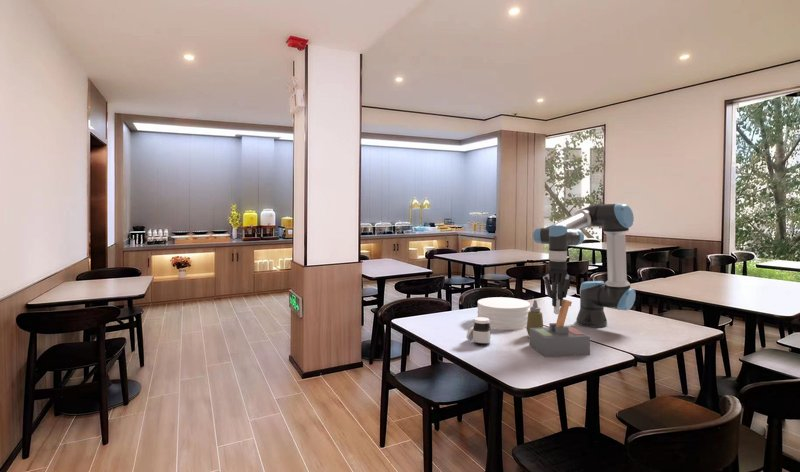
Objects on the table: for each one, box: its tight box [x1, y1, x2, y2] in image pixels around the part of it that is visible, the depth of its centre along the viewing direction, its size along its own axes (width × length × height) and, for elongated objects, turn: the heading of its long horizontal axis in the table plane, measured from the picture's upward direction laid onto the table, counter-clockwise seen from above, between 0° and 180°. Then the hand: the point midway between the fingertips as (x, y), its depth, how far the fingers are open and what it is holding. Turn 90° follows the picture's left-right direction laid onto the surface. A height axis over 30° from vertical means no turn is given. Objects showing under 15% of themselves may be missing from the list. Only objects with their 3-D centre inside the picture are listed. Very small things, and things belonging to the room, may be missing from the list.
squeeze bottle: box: [525, 299, 544, 336], centre depth 206 cm, size 8×8×18 cm
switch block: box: [528, 322, 591, 358], centre depth 187 cm, size 20×16×11 cm
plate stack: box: [477, 296, 531, 331], centre depth 232 cm, size 28×28×12 cm
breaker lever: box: [555, 298, 573, 327], centre depth 186 cm, size 3×4×14 cm
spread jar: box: [466, 316, 491, 347], centre depth 198 cm, size 12×11×12 cm
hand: (556, 313), depth 186 cm, fingers closed
